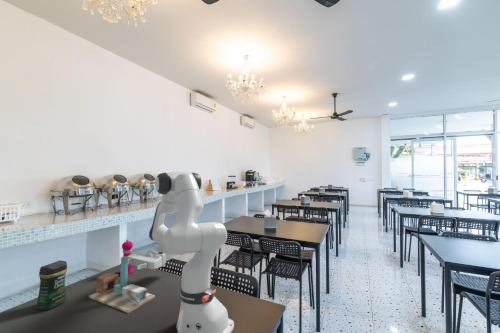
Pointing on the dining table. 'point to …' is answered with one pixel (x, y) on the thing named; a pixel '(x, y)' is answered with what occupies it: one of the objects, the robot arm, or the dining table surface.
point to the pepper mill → (127, 253)
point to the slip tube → (124, 277)
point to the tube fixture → (120, 301)
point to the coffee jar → (52, 285)
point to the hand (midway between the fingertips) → (130, 266)
